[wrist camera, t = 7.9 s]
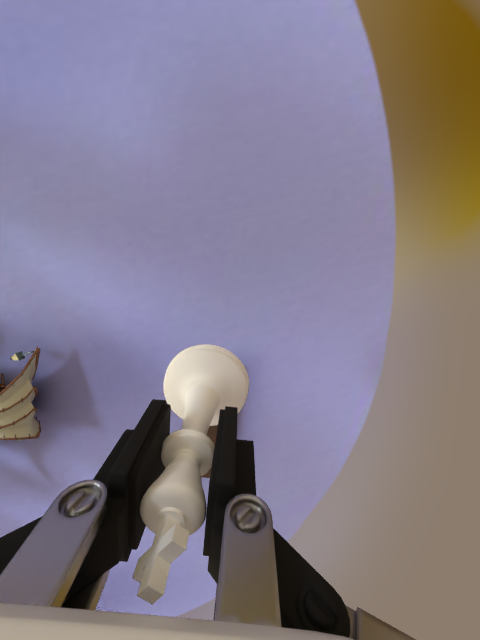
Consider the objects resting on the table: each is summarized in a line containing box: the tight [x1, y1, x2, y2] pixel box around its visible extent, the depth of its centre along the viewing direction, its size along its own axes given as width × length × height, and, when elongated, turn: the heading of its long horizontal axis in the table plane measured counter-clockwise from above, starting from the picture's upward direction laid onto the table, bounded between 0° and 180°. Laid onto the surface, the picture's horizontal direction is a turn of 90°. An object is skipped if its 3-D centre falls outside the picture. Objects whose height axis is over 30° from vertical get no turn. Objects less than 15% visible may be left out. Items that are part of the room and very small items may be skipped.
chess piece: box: [132, 345, 249, 604], centre depth 11 cm, size 5×5×10 cm
